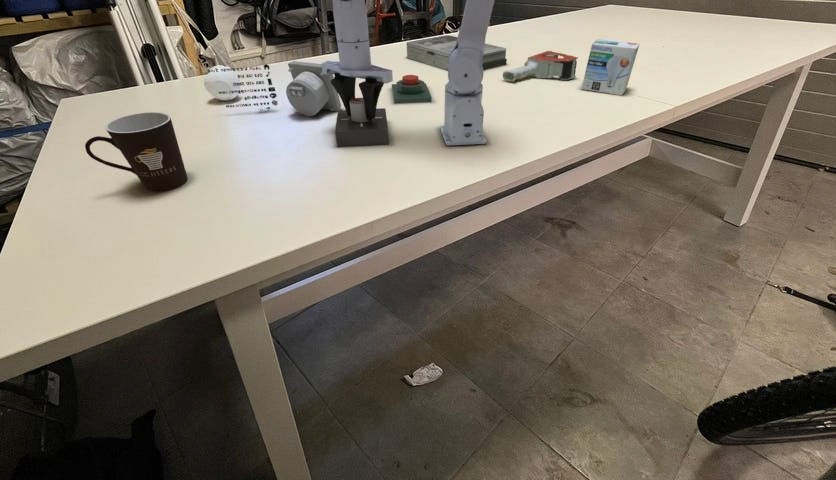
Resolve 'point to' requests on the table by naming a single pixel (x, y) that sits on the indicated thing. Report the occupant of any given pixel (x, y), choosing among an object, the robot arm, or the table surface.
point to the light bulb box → (609, 66)
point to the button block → (411, 93)
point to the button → (410, 80)
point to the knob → (358, 110)
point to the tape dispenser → (545, 67)
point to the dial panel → (361, 130)
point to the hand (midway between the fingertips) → (361, 116)
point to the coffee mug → (146, 149)
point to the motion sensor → (222, 83)
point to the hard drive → (441, 47)
